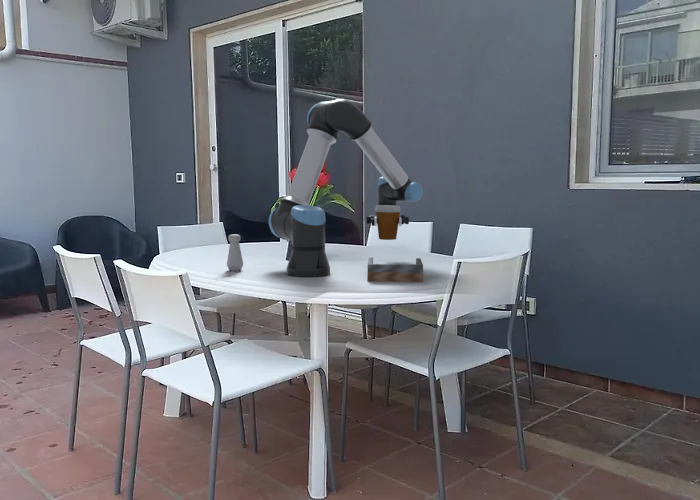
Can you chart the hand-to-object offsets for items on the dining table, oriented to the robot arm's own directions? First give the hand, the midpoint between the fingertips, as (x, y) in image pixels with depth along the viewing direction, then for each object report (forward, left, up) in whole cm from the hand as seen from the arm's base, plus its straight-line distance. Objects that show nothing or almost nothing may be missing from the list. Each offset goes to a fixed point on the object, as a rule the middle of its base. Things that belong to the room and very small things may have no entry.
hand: (387, 222), depth 212 cm
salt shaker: (-55, -2, -18) cm, 57 cm away
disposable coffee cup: (0, +5, -7) cm, 8 cm away
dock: (+2, -11, -18) cm, 21 cm away
